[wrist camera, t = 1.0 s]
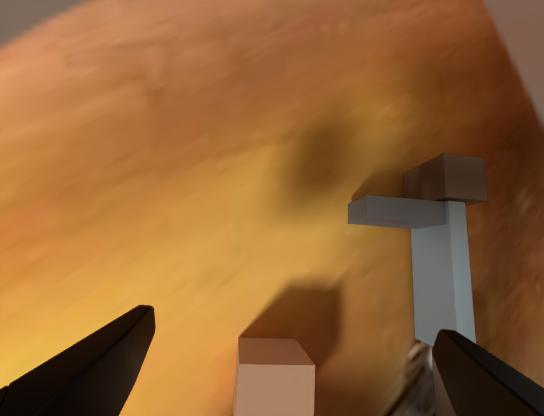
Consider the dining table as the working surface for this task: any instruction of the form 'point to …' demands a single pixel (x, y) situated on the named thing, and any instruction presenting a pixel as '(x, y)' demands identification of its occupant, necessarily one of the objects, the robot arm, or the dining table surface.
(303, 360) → the tan rectangular block
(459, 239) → the grey l-shaped bracket
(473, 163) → the grey-brown blocks
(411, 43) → the dining table surface
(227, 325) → the dining table surface
